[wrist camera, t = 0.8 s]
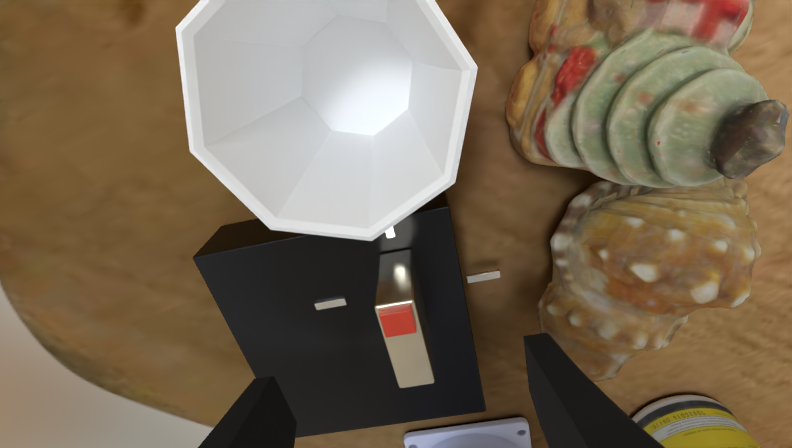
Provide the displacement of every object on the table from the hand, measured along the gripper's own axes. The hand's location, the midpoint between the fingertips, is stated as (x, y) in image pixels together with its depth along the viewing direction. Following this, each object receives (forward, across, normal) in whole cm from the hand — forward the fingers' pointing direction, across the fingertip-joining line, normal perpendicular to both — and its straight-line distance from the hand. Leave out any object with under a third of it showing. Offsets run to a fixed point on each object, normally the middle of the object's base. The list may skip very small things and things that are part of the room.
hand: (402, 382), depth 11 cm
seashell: (+9, -10, +3) cm, 14 cm away
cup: (+9, -1, -9) cm, 13 cm away
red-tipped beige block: (+6, 0, +1) cm, 6 cm away
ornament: (+9, -9, -6) cm, 14 cm away
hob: (+9, +3, +4) cm, 10 cm away
